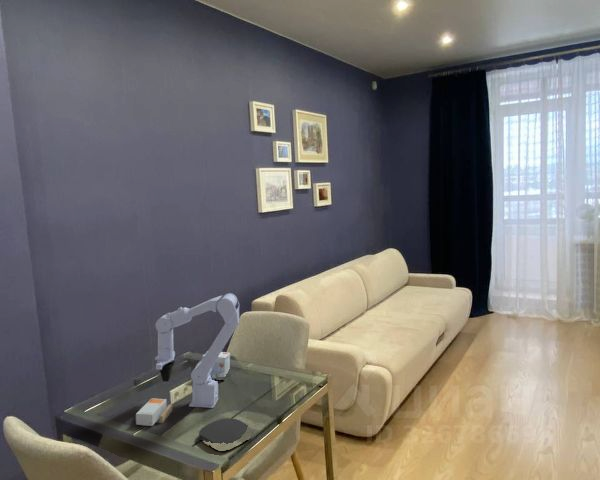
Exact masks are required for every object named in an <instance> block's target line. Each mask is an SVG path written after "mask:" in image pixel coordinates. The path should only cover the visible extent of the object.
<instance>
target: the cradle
mask: <svg viewBox="0 0 600 480" xmlns="http://www.w3.org/2000/svg"><path fill="white" fill-rule="evenodd" d="M166 406H167V407H166V409H165V410H164V411H163V412H162V414H161V415H160V416H159V417H160V418H159V419H158V420H157V421H156V422H155V424H156V423H157V424H163V423H164V422H165V421H166V420H167V418H168V417H169V416H170V415H171V413H172V412H173V404H167V405H166Z"/></svg>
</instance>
